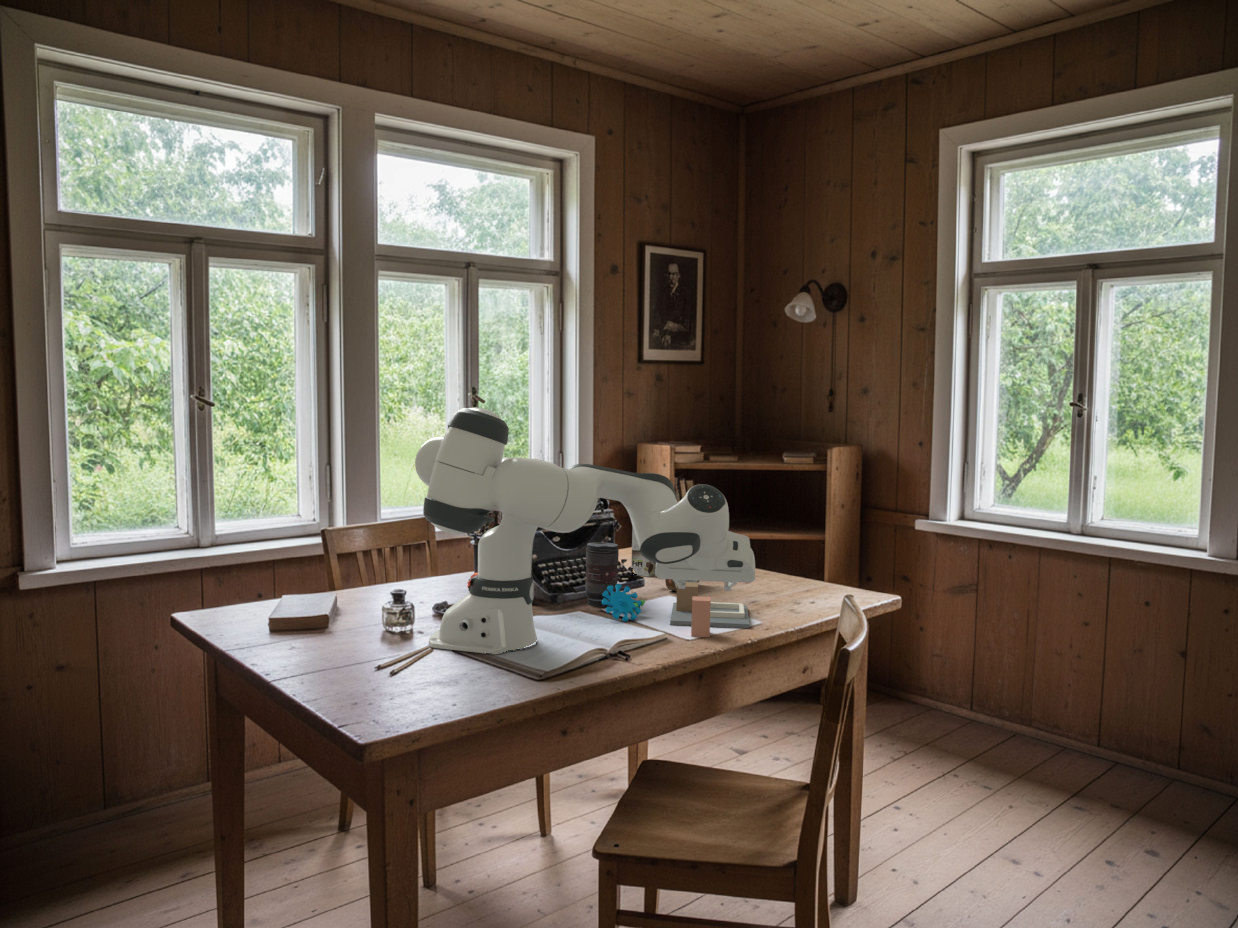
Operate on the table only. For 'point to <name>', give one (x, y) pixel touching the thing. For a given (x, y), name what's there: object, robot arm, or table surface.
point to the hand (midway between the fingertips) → (704, 587)
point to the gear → (622, 603)
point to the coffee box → (641, 561)
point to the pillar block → (701, 616)
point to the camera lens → (600, 570)
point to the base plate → (719, 612)
